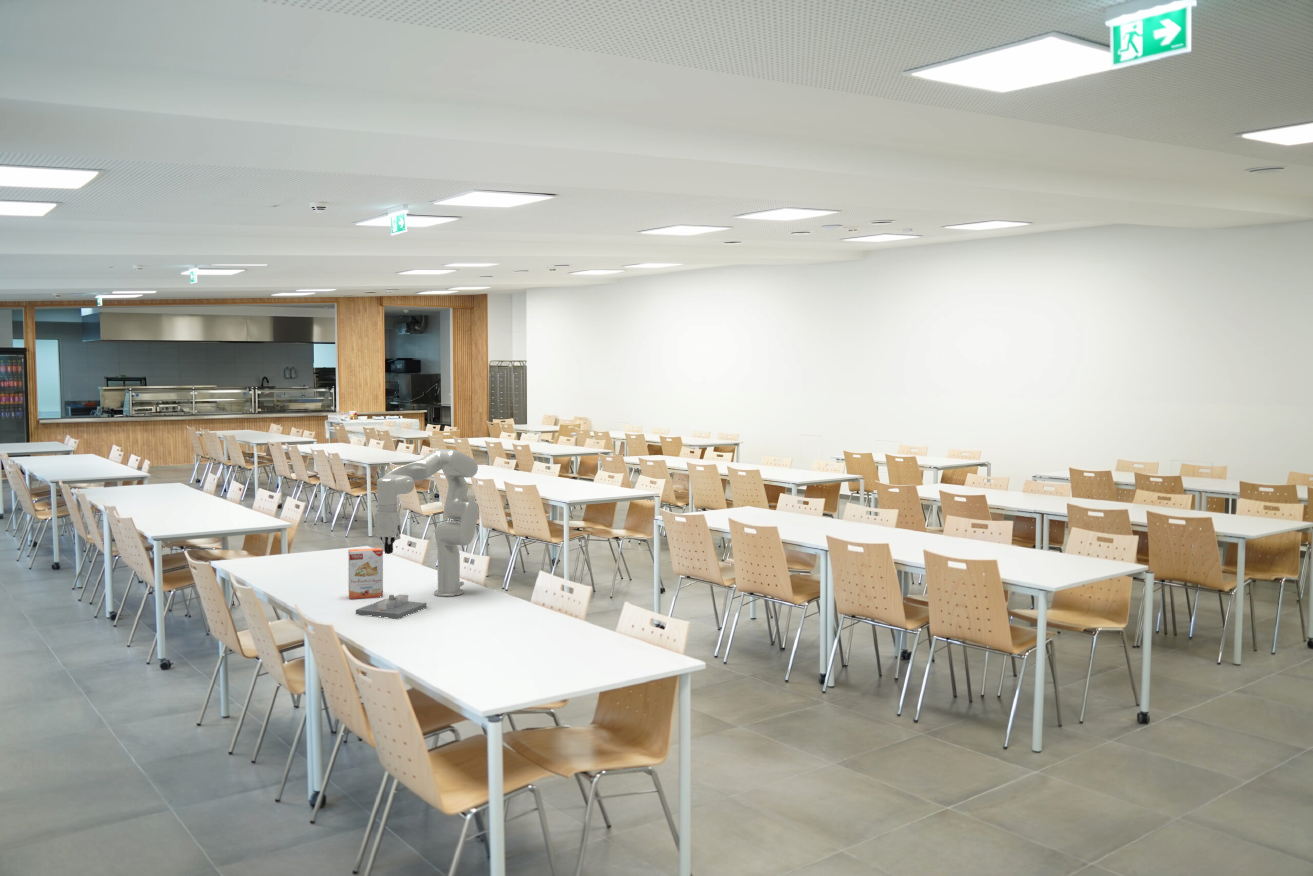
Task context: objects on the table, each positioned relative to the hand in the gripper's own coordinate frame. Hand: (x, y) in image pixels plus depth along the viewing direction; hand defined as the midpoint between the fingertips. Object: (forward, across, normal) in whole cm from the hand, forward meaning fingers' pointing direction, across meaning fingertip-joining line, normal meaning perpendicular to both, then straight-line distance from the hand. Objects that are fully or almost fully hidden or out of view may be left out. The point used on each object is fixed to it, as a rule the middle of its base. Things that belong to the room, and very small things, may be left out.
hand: (388, 553), depth 398 cm
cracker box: (+24, -25, +17) cm, 39 cm away
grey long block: (+22, +1, 0) cm, 22 cm away
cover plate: (+24, +1, 0) cm, 24 cm away
